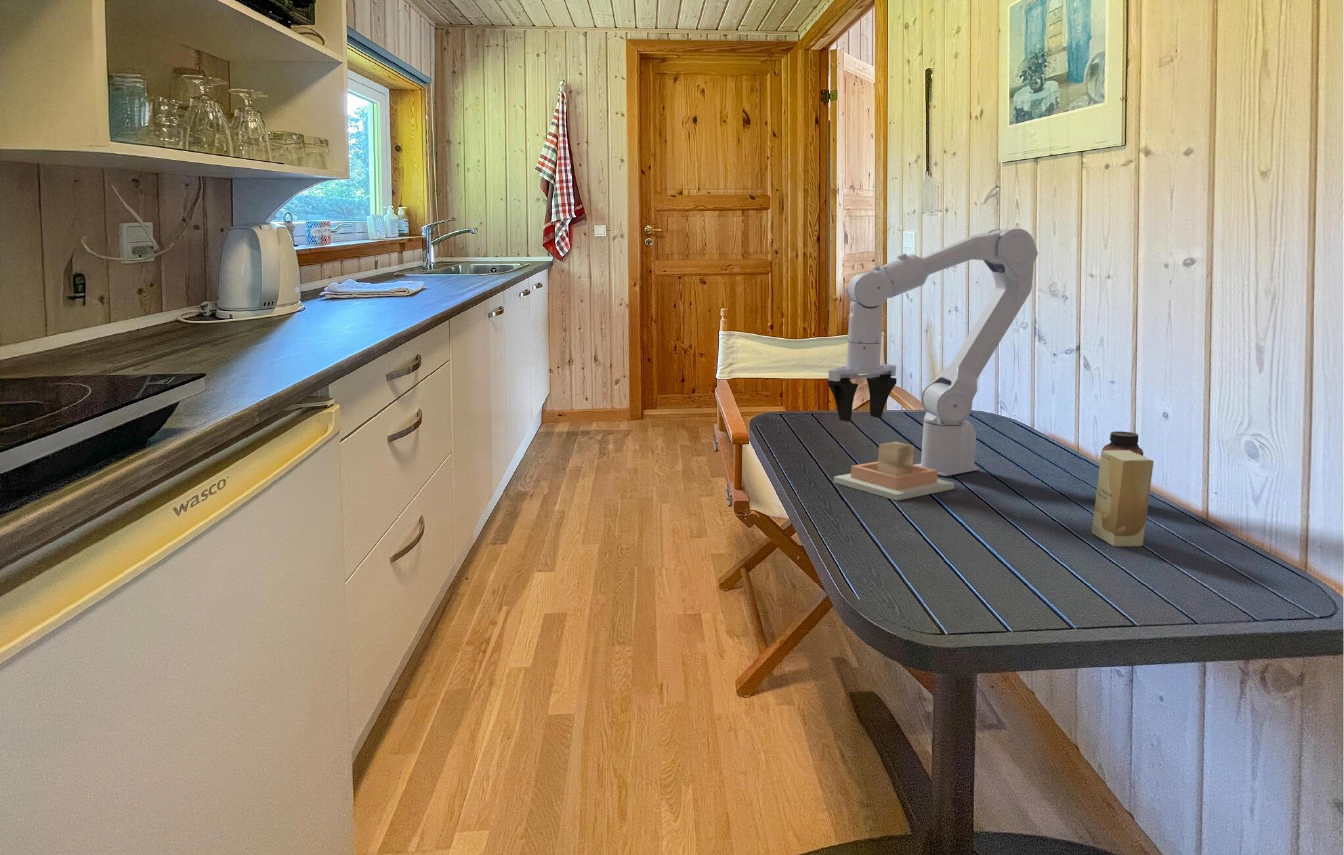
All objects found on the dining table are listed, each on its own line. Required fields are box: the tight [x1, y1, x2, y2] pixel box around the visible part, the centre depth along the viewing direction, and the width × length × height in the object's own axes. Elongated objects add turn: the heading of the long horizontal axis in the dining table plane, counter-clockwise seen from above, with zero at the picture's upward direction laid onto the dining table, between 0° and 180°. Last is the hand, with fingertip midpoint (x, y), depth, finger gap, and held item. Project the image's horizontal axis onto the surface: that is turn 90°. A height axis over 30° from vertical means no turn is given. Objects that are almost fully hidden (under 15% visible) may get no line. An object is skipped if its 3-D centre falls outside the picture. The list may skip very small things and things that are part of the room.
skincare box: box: [1091, 450, 1155, 547], centre depth 132 cm, size 6×4×12 cm
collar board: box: [833, 461, 955, 501], centre depth 162 cm, size 14×14×3 cm
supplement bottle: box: [1101, 430, 1144, 456], centre depth 152 cm, size 6×6×11 cm
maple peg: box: [877, 441, 915, 476], centre depth 161 cm, size 4×4×6 cm
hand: (860, 418), depth 171 cm, fingers open, 7 cm apart
